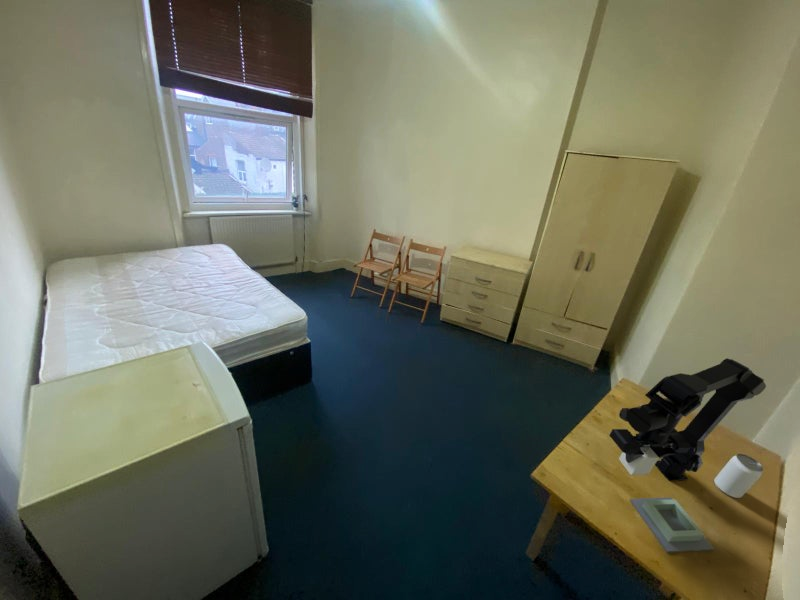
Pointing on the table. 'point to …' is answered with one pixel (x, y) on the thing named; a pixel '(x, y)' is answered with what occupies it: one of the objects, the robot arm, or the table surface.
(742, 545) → the table surface
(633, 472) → the plug
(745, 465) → the can
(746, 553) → the table surface
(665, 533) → the charging dock
